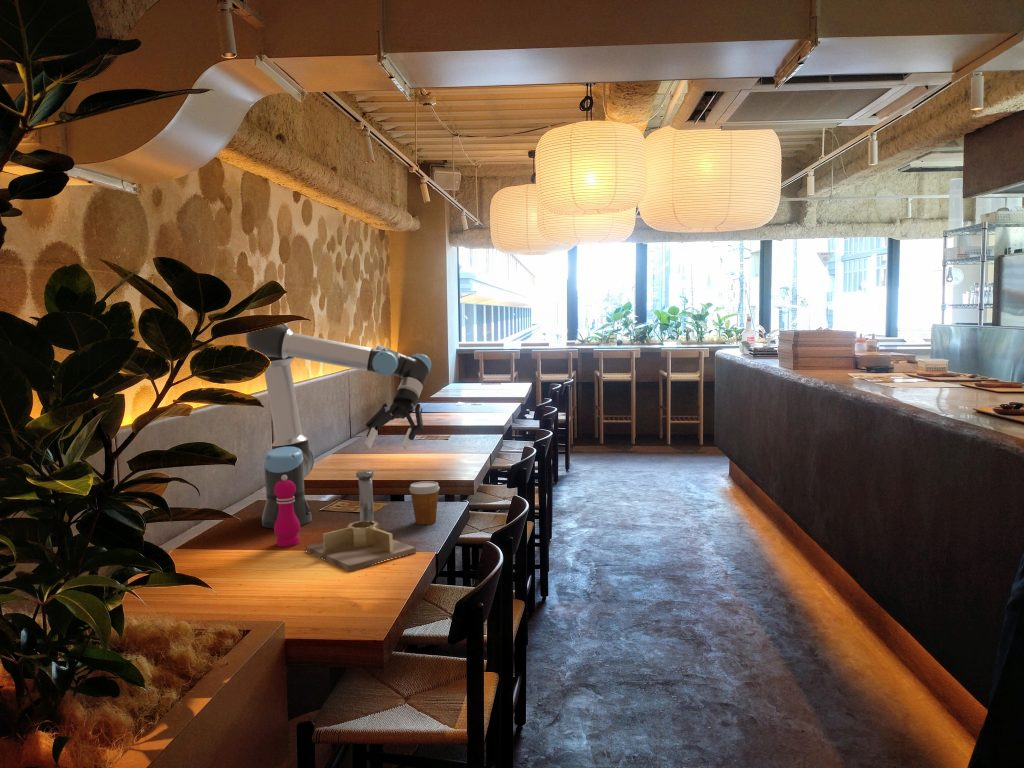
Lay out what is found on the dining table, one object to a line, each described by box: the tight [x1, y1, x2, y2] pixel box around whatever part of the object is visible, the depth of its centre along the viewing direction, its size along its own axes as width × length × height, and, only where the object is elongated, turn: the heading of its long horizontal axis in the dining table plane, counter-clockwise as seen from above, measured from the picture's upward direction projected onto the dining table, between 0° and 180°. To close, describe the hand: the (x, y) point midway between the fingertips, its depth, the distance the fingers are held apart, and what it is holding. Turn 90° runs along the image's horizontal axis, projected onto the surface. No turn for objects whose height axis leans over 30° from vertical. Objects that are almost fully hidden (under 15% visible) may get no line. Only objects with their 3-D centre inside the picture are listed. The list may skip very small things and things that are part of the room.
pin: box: [355, 469, 375, 521], centre depth 214 cm, size 5×5×18 cm
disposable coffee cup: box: [409, 481, 441, 526], centre depth 223 cm, size 10×10×12 cm
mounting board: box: [305, 539, 417, 572], centre depth 195 cm, size 24×20×2 cm
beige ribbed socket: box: [322, 520, 394, 553], centre depth 192 cm, size 18×16×5 cm
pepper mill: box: [273, 475, 301, 548], centre depth 204 cm, size 7×7×20 cm
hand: (385, 447), depth 223 cm, fingers open, 13 cm apart
